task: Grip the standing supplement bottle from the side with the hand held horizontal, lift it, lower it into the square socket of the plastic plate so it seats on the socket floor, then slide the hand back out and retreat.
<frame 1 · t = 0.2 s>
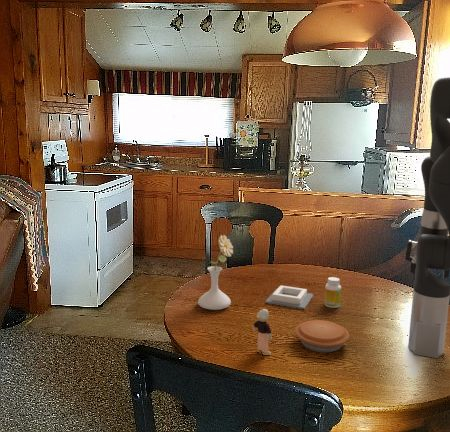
hand: (428, 275, 140), 18 cm above the table, tool pointing down, fingers open, 8 cm apart
flower in vase: (216, 306, 161), on the table
supplement bottle: (332, 305, 162), on the table
grandmother figurine: (262, 352, 129), on the table
socket plate: (289, 299, 167), on the table
pie: (321, 344, 134), on the table
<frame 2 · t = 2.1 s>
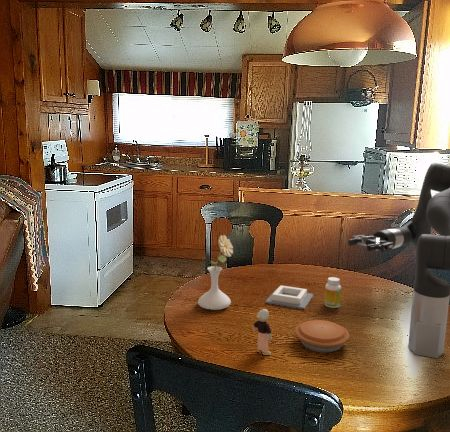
hand: (358, 245, 164), 20 cm above the table, tool horizontal, fingers open, 8 cm apart
nothing on the table moved.
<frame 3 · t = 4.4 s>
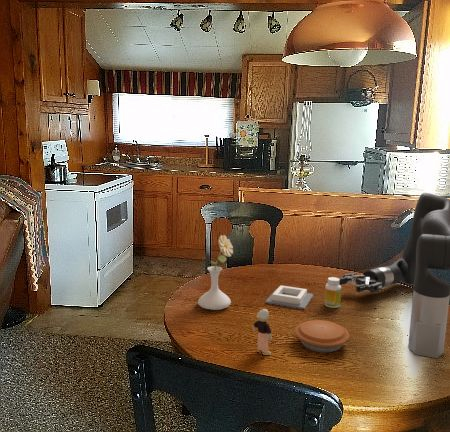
hand: (347, 285, 165), 6 cm above the table, tool horizontal, fingers open, 8 cm apart
nothing on the table moved.
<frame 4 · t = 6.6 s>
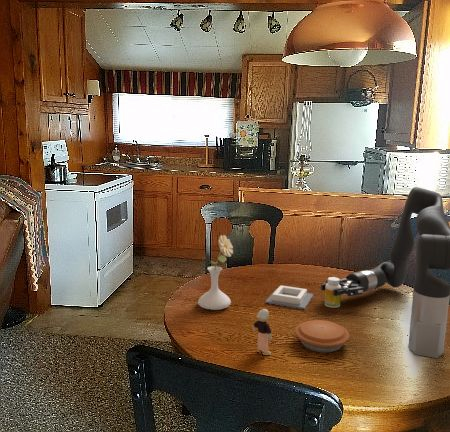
hand: (327, 290, 160), 6 cm above the table, tool horizontal, fingers closed on supplement bottle, 5 cm apart
supplement bottle: (332, 305, 162), on the table, touching gripper
everything else where it was.
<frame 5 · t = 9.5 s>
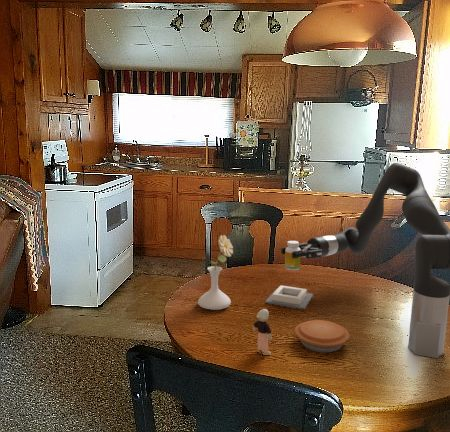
hand: (287, 253, 162), 18 cm above the table, tool horizontal, fingers closed on supplement bottle, 5 cm apart
supplement bottle: (292, 268, 165), point 11 cm above the table, touching gripper
everything else where it was.
when the fingers open (8 cm above the table, at t = 12.4 s): supplement bottle stays where it is, resting on socket plate.
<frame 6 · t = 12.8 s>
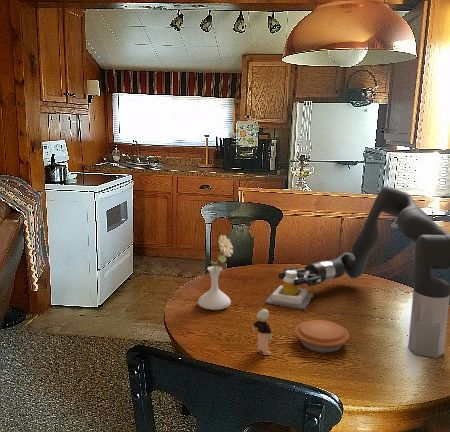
hand: (286, 279, 164), 8 cm above the table, tool horizontal, fingers open, 8 cm apart
supplement bottle: (290, 297, 167), point 1 cm above the table, touching socket plate
everything else where it was.
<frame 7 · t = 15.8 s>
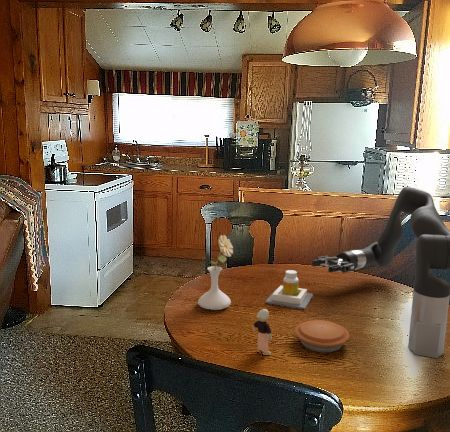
hand: (320, 266, 169), 11 cm above the table, tool horizontal, fingers open, 8 cm apart
nothing on the table moved.
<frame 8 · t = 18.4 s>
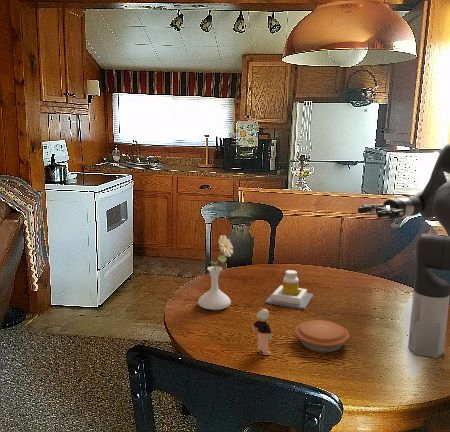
hand: (368, 212, 162), 32 cm above the table, tool horizontal, fingers open, 8 cm apart
nothing on the table moved.
at the end: supplement bottle 0.1 cm off-centre on the socket plate, point 0.6 cm above the socket plate's base; supplement bottle tilted 0°; the gripper is holding nothing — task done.
